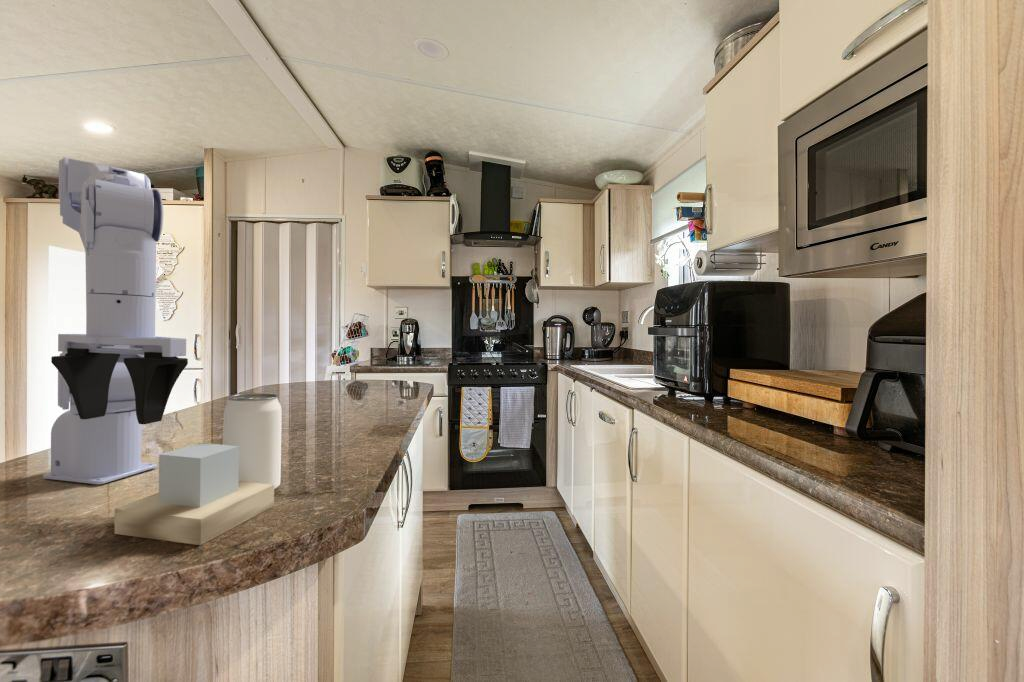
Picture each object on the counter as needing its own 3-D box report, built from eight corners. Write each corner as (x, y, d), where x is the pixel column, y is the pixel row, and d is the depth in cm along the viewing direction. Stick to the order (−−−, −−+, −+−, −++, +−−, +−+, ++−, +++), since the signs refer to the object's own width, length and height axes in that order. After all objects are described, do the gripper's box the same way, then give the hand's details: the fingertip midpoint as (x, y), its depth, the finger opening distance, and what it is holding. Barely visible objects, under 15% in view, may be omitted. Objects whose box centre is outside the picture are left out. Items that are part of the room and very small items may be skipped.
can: (254, 501, 54) (256, 401, 54) (209, 495, 56) (210, 398, 55) (291, 483, 61) (293, 394, 60) (249, 479, 62) (251, 391, 62)
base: (114, 533, 45) (114, 508, 45) (200, 497, 55) (201, 477, 55) (200, 545, 43) (200, 519, 43) (273, 505, 53) (274, 484, 53)
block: (158, 502, 47) (159, 454, 47) (200, 486, 52) (200, 442, 52) (200, 507, 46) (200, 458, 46) (238, 490, 51) (238, 446, 51)
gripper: (23, 291, 47) (23, 422, 47) (142, 294, 44) (140, 432, 45) (97, 296, 54) (96, 410, 54) (203, 299, 51) (201, 419, 51)
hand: (121, 420), depth 50 cm, fingers open, 7 cm apart
